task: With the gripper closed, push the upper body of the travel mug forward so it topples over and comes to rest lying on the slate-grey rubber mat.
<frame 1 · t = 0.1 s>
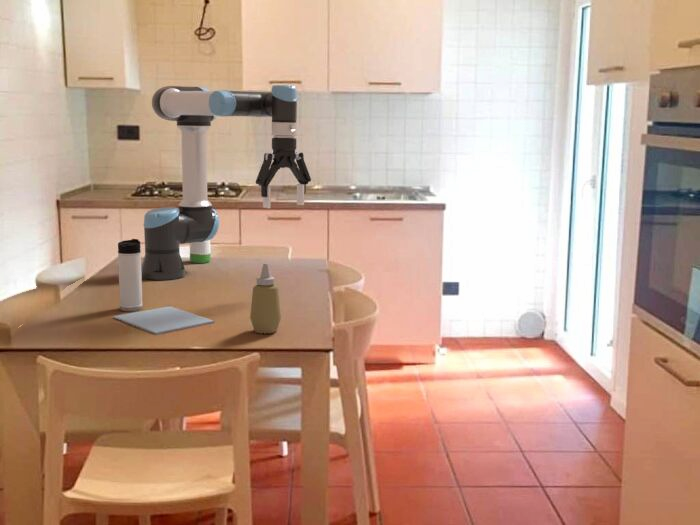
hand: (283, 206, 245), 28 cm above the table, fingers open, 13 cm apart
squeeze bottle: (265, 332, 208), on the table
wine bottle: (200, 262, 302), on the table
mat: (163, 320, 217), on the table
travel mug: (131, 309, 229), on the table
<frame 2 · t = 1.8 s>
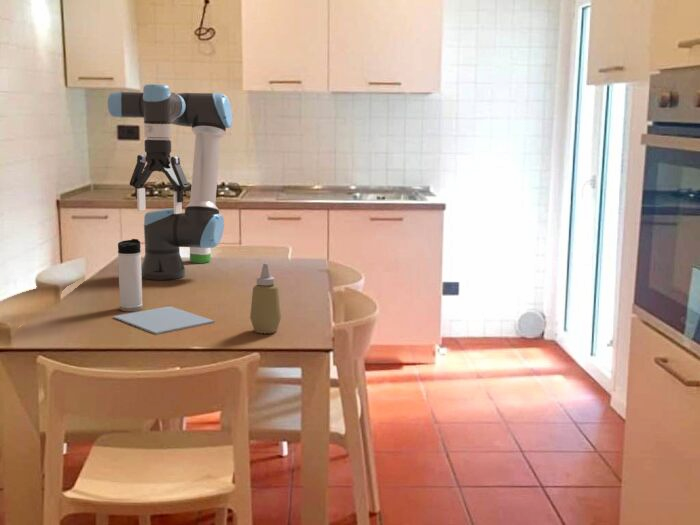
hand: (159, 212, 233), 27 cm above the table, fingers open, 13 cm apart
nothing on the table moved.
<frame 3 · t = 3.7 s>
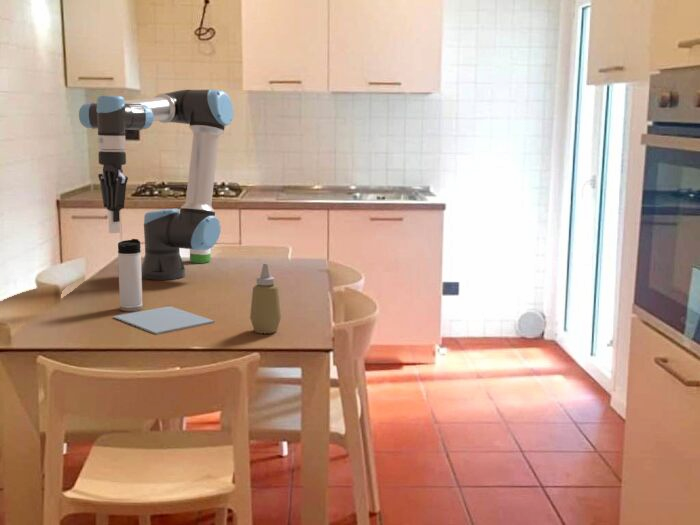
hand: (114, 232, 230), 21 cm above the table, fingers closed
nothing on the table moved.
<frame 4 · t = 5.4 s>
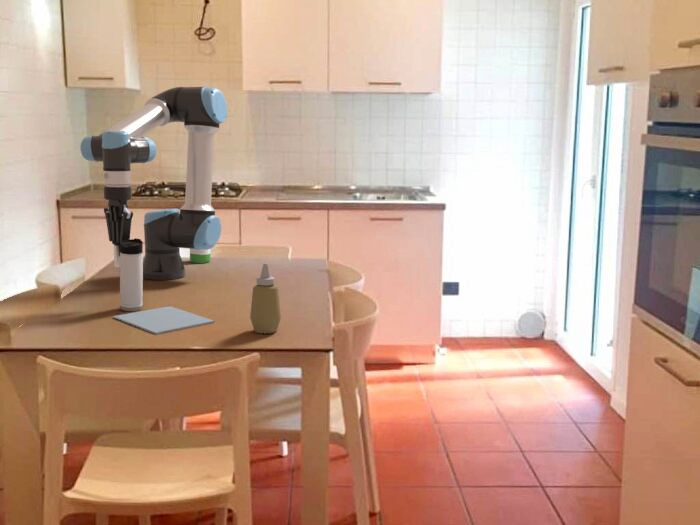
hand: (120, 266, 230), 12 cm above the table, fingers closed
travel mug: (131, 308, 229), on the table, touching hand
everything else where it was.
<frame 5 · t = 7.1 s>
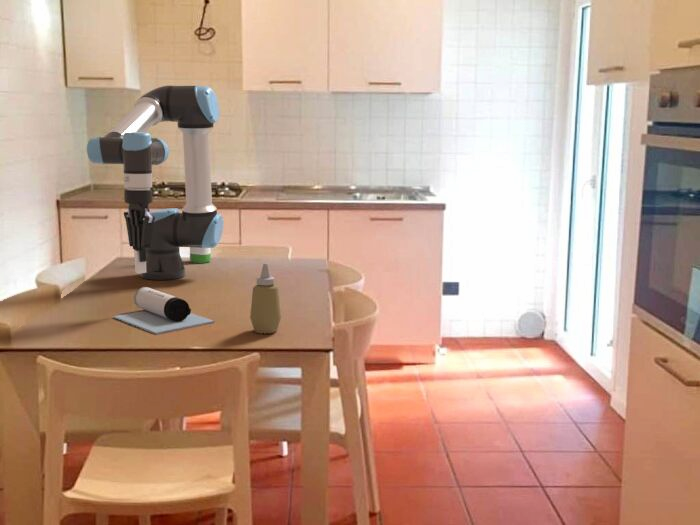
hand: (140, 272, 222), 12 cm above the table, fingers closed
travel mug: (143, 297, 227), point 4 cm above the table, touching mat
everything else where it was.
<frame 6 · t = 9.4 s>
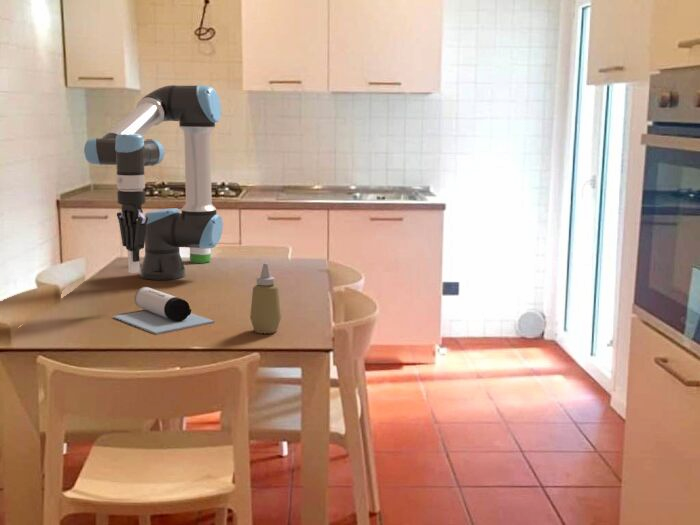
hand: (134, 272, 226), 11 cm above the table, fingers closed
nothing on the table moved.
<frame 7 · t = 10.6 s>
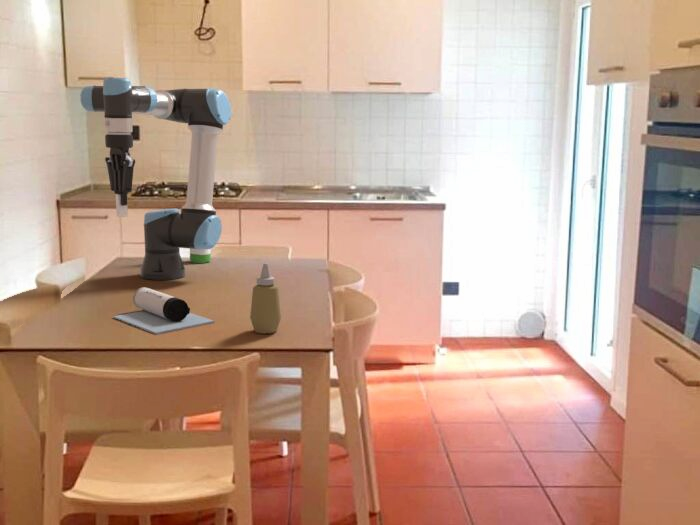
hand: (122, 216, 228), 26 cm above the table, fingers closed
nothing on the table moved.
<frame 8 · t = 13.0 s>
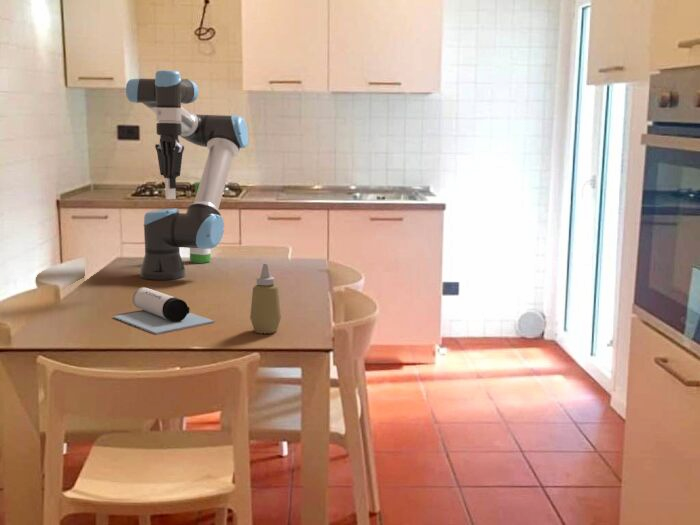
hand: (170, 198, 248), 29 cm above the table, fingers closed
nothing on the table moved.
at the end: travel mug tilted 90°; travel mug inside the target area (11.1 cm from its centre), point 3.6 cm above the table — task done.
